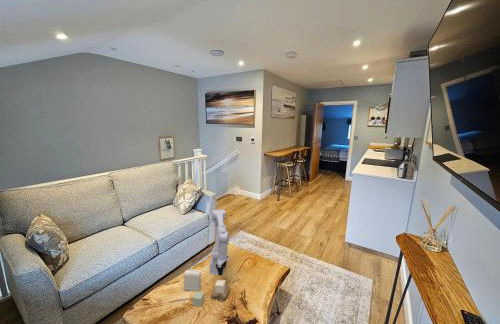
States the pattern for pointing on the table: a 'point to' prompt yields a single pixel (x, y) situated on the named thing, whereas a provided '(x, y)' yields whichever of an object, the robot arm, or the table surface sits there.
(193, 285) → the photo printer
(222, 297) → the walnut base
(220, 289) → the cream cube
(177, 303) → the table surface
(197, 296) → the sage cube
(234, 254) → the table surface
